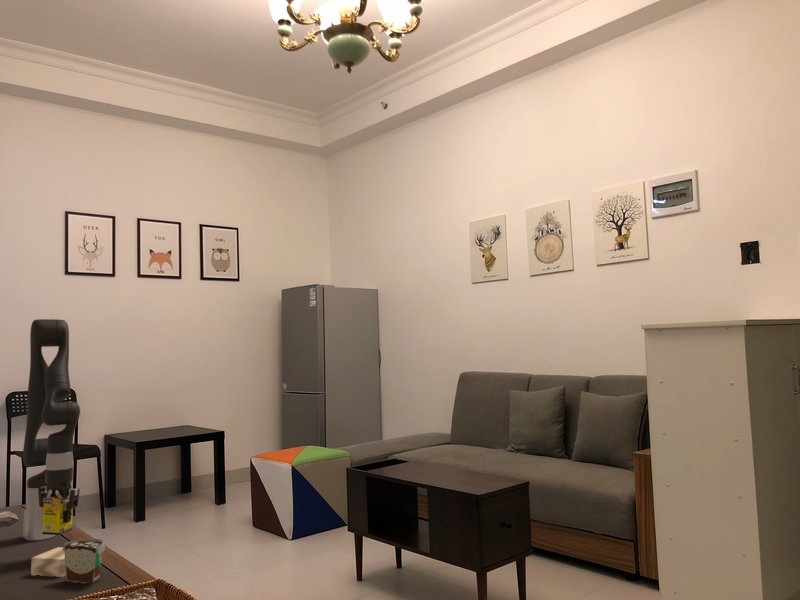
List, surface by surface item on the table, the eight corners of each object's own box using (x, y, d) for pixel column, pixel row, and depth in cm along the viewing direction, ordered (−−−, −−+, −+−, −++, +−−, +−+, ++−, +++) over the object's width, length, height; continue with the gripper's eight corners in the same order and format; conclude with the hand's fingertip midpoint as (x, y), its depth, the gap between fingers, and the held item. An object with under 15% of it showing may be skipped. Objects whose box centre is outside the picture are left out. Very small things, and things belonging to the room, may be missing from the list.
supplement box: (59, 535, 191) (60, 498, 192) (41, 534, 193) (43, 498, 193) (72, 530, 197) (73, 494, 198) (56, 529, 198) (57, 493, 199)
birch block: (30, 576, 177) (31, 557, 178) (56, 564, 187) (57, 547, 188) (62, 578, 175) (62, 559, 176) (86, 566, 185) (87, 548, 186)
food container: (114, 577, 174) (115, 539, 175) (97, 584, 168) (98, 546, 169) (80, 573, 178) (80, 536, 179) (61, 580, 172) (62, 542, 173)
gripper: (87, 465, 198) (86, 520, 197) (50, 463, 202) (49, 517, 201) (68, 470, 191) (66, 527, 189) (31, 467, 195) (29, 523, 194)
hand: (57, 521), depth 195 cm, fingers closed on supplement box, 6 cm apart
